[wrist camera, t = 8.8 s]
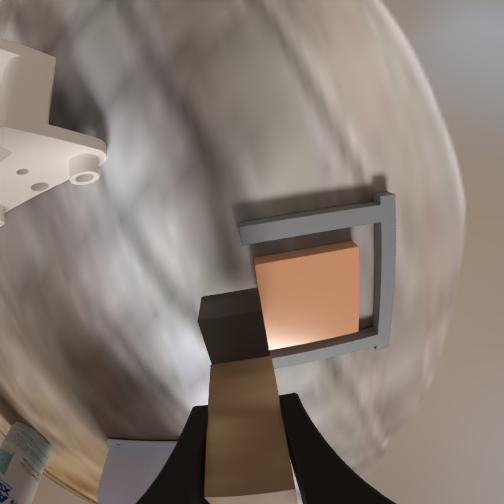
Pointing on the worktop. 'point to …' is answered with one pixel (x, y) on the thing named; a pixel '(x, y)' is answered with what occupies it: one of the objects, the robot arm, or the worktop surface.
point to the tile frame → (385, 254)
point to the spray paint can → (21, 464)
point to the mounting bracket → (37, 131)
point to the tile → (309, 293)
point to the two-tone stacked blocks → (243, 406)
